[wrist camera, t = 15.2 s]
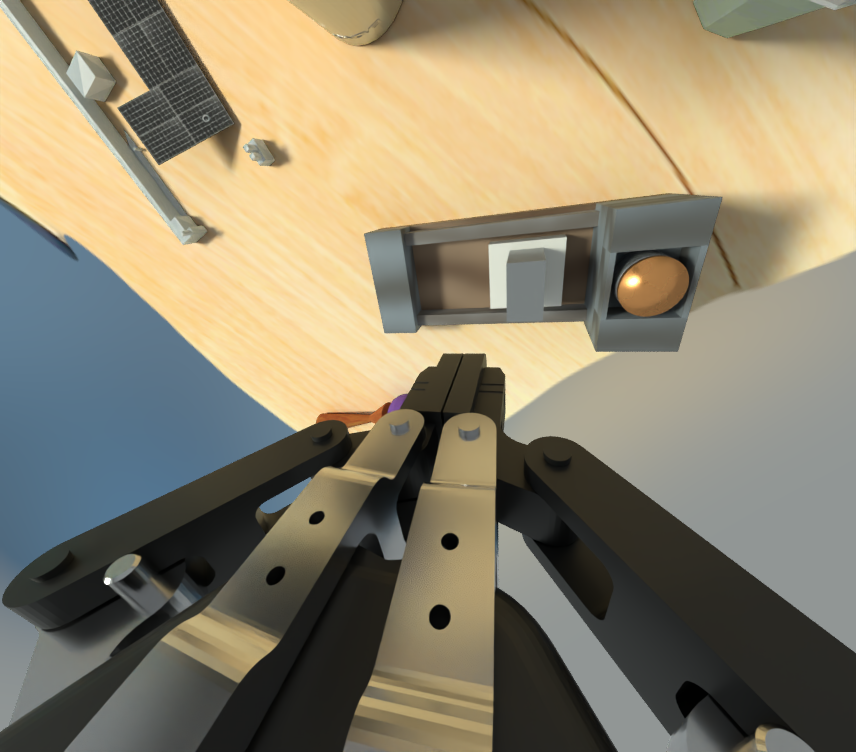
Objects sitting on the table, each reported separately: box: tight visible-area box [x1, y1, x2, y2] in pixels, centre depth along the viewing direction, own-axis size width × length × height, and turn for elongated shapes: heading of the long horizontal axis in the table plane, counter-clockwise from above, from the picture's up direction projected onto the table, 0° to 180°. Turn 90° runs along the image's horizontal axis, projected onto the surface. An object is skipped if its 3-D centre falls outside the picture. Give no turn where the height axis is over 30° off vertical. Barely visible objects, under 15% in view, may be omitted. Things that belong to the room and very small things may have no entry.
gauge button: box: [611, 250, 689, 317], centre depth 25 cm, size 4×4×4 cm
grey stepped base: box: [364, 193, 722, 352], centre depth 31 cm, size 11×28×10 cm, turn 97°
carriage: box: [489, 234, 567, 322], centre depth 29 cm, size 6×7×8 cm
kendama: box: [316, 394, 408, 428], centre depth 49 cm, size 6×6×20 cm
